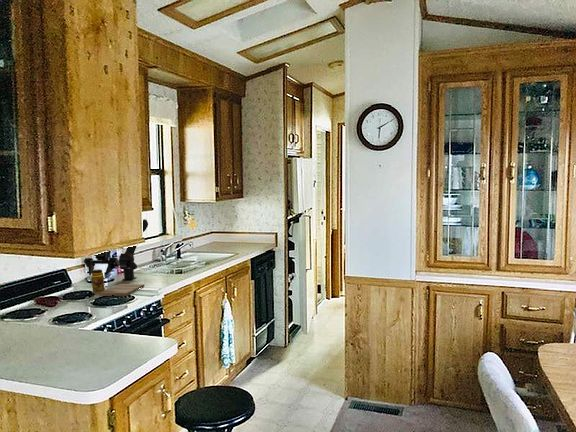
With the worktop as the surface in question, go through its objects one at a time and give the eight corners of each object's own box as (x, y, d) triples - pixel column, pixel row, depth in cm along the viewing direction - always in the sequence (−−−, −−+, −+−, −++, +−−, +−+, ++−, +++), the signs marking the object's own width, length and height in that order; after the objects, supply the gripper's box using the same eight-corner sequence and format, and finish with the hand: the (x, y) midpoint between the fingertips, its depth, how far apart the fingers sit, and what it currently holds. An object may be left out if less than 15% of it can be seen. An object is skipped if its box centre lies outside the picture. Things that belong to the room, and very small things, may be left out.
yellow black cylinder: (97, 293, 273) (96, 271, 272) (87, 292, 277) (85, 270, 276) (108, 290, 279) (106, 269, 278) (98, 289, 284) (96, 268, 282)
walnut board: (118, 286, 288) (117, 284, 288) (144, 286, 285) (144, 284, 285) (98, 295, 268) (98, 293, 268) (126, 295, 266) (126, 293, 265)
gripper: (83, 243, 284) (75, 267, 274) (116, 243, 282) (108, 266, 272) (91, 255, 292) (83, 278, 282) (122, 254, 290) (115, 277, 280)
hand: (97, 275), depth 279 cm, fingers open, 9 cm apart
